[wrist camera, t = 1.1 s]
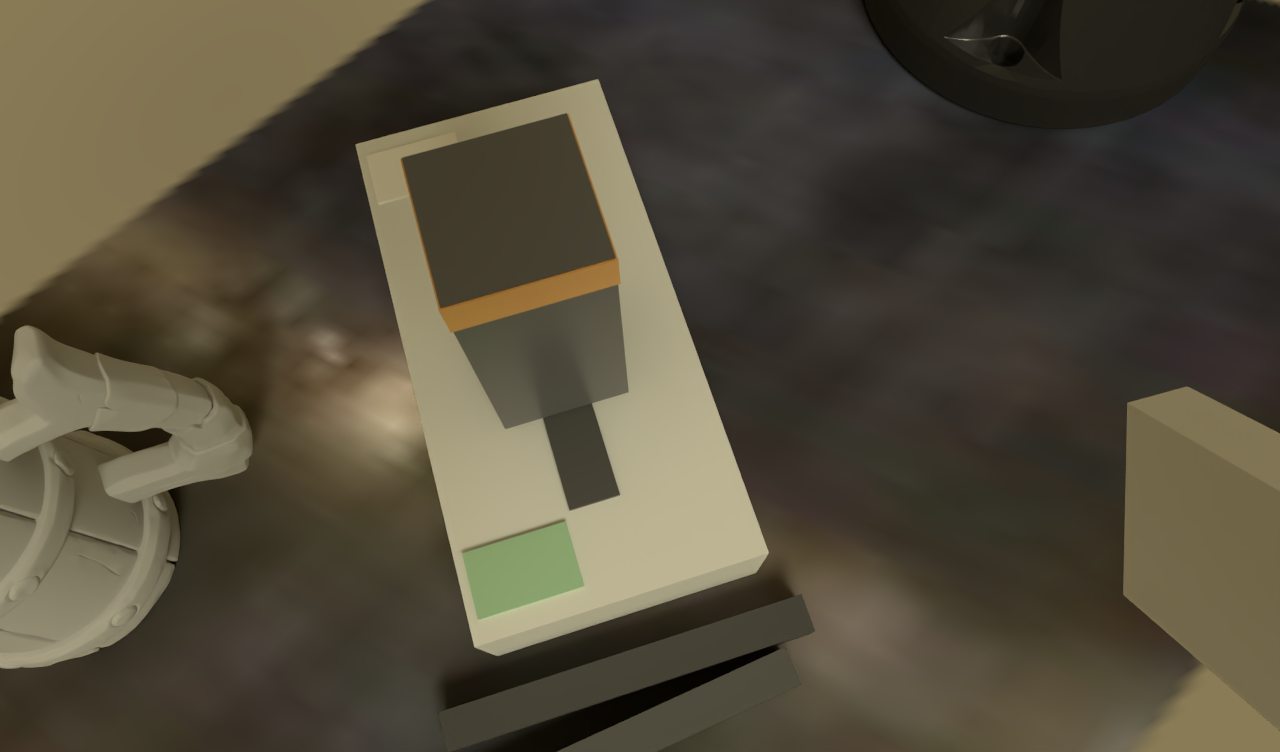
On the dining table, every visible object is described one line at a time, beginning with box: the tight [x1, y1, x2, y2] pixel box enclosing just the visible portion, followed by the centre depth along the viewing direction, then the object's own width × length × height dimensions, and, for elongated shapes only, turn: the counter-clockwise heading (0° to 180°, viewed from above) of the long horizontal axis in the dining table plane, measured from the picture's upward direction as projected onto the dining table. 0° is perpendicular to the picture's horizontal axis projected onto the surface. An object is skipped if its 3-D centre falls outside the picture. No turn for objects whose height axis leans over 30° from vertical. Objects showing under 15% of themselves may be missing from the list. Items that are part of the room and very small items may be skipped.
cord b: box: [557, 648, 801, 752], centre depth 29 cm, size 12×1×1 cm, turn 113°
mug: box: [0, 325, 253, 668], centre depth 26 cm, size 8×12×12 cm, turn 118°
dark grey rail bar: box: [438, 595, 815, 752], centre depth 29 cm, size 12×1×1 cm, turn 107°
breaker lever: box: [400, 113, 629, 429], centre depth 25 cm, size 4×4×9 cm
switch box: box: [355, 79, 769, 656], centre depth 32 cm, size 9×18×4 cm, turn 17°
